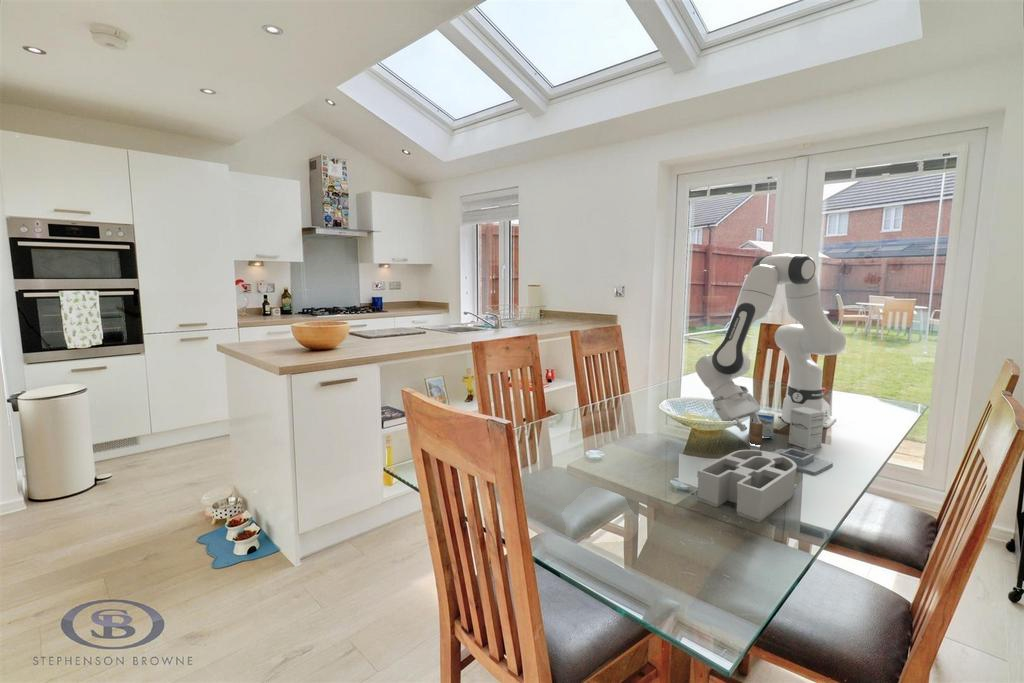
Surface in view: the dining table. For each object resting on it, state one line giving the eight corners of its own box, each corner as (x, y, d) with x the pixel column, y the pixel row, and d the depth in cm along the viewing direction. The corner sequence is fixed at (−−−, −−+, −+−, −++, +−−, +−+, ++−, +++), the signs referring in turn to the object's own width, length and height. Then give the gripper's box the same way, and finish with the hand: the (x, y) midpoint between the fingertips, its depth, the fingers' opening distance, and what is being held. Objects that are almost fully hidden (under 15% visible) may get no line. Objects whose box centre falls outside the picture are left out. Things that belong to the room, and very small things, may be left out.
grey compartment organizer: (695, 501, 131) (696, 470, 130) (743, 473, 149) (745, 445, 147) (759, 525, 118) (761, 491, 117) (804, 491, 136) (806, 461, 135)
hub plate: (780, 451, 165) (780, 442, 165) (832, 466, 152) (833, 456, 152) (761, 459, 158) (761, 450, 158) (814, 475, 146) (815, 465, 145)
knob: (752, 442, 174) (754, 420, 173) (764, 445, 171) (765, 423, 170) (746, 445, 172) (747, 423, 171) (757, 448, 168) (759, 425, 167)
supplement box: (787, 443, 173) (790, 408, 171) (802, 440, 176) (804, 406, 174) (807, 450, 166) (810, 413, 165) (822, 446, 169) (824, 411, 167)
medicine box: (748, 436, 181) (749, 413, 179) (749, 433, 185) (750, 410, 183) (772, 439, 177) (774, 416, 176) (772, 436, 181) (774, 413, 180)
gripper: (716, 394, 170) (742, 428, 163) (748, 386, 182) (773, 418, 175) (704, 404, 174) (728, 438, 168) (736, 395, 186) (760, 427, 179)
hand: (752, 427), depth 172 cm, fingers open, 8 cm apart
